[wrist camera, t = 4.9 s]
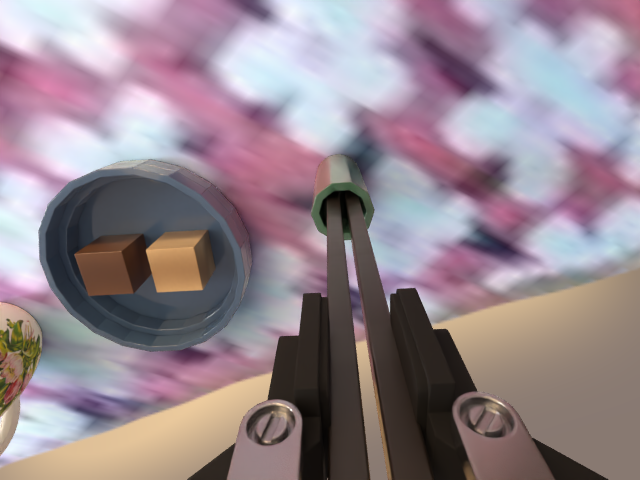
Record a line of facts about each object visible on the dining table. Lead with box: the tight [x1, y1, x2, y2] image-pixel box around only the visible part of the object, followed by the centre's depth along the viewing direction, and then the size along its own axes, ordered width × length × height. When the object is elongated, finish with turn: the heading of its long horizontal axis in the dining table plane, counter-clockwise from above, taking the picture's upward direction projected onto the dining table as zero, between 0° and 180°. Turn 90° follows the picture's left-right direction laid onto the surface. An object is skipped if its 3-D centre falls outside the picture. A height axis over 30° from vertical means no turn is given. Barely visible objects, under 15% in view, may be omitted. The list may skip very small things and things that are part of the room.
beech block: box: [146, 230, 215, 292], centre depth 33 cm, size 4×4×4 cm
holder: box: [311, 154, 374, 240], centre depth 28 cm, size 4×4×10 cm
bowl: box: [39, 159, 252, 352], centre depth 34 cm, size 17×17×4 cm
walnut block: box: [74, 234, 152, 296], centre depth 34 cm, size 4×4×4 cm
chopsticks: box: [327, 191, 435, 480], centre depth 16 cm, size 1×2×20 cm, turn 94°
